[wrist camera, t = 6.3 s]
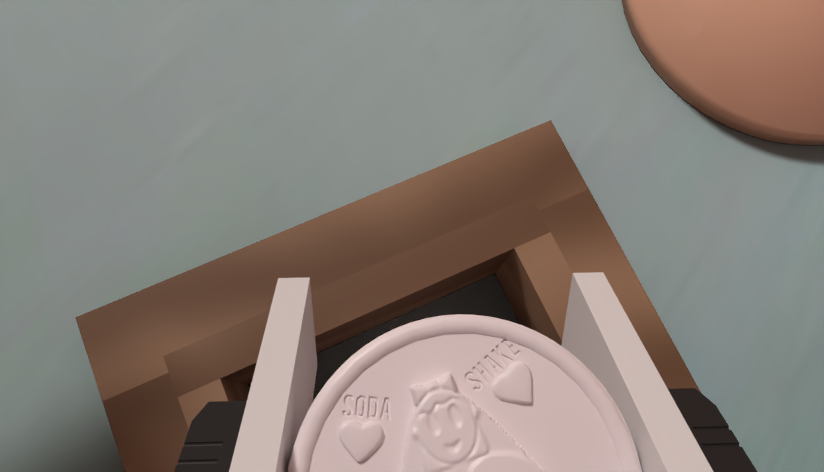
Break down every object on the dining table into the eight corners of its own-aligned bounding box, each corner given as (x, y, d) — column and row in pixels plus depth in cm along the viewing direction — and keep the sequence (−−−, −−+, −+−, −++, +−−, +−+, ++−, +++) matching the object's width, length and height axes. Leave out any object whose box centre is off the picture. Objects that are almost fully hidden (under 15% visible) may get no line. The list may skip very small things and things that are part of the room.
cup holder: (90, 322, 21) (32, 304, 18) (543, 132, 23) (570, 85, 20) (278, 898, 17) (251, 1017, 14) (799, 601, 20) (885, 640, 16)
